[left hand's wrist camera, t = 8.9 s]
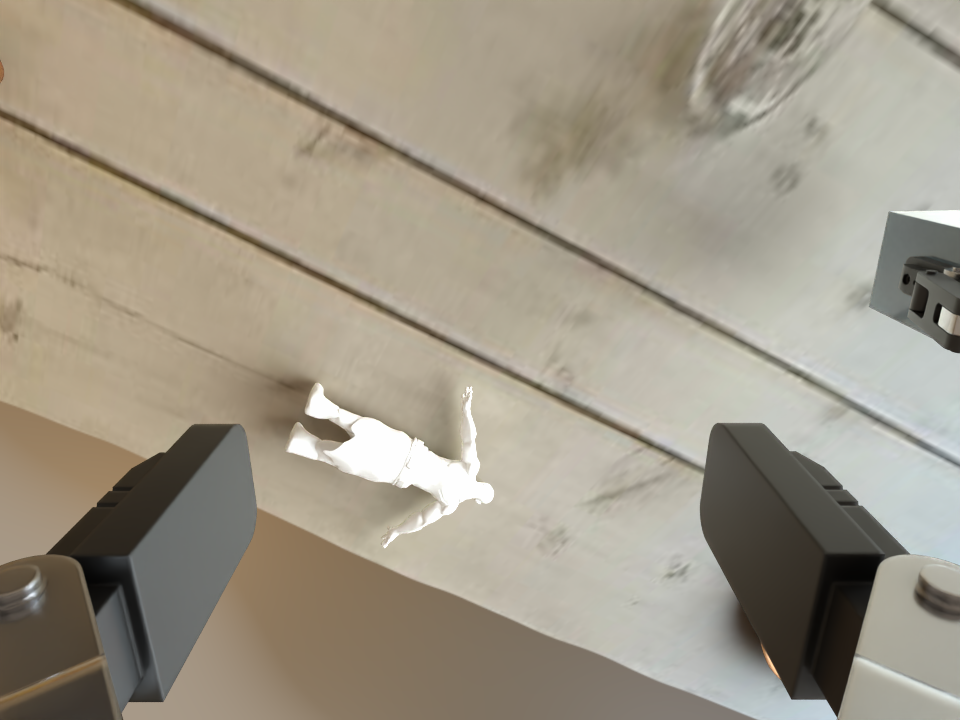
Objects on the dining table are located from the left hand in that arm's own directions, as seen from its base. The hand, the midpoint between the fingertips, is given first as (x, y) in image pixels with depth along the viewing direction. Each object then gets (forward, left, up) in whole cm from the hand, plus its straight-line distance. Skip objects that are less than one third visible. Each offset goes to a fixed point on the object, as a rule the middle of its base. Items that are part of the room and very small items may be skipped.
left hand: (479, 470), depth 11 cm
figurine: (+10, -20, -40) cm, 46 cm away
